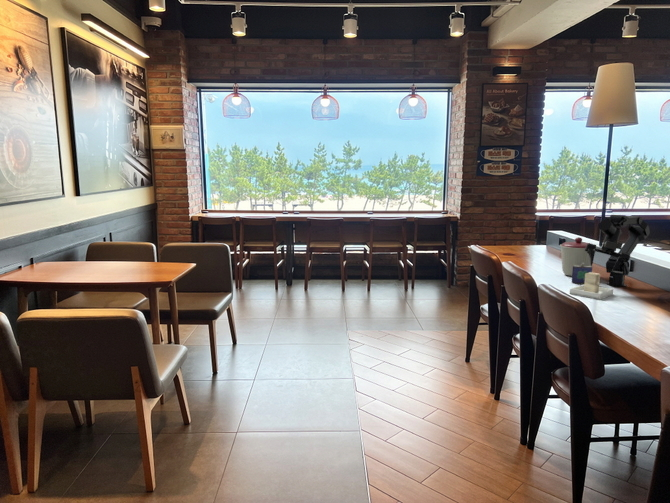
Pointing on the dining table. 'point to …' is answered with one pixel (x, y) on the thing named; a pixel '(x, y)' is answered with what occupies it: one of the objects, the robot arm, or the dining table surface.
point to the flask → (580, 273)
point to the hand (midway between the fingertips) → (601, 269)
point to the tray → (580, 292)
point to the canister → (574, 255)
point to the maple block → (592, 282)
